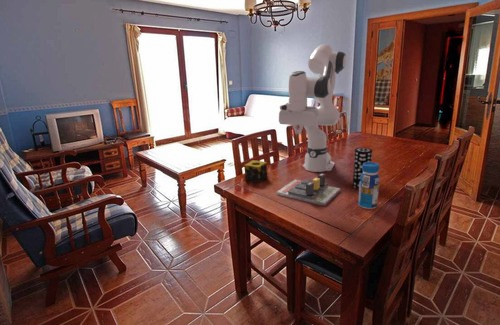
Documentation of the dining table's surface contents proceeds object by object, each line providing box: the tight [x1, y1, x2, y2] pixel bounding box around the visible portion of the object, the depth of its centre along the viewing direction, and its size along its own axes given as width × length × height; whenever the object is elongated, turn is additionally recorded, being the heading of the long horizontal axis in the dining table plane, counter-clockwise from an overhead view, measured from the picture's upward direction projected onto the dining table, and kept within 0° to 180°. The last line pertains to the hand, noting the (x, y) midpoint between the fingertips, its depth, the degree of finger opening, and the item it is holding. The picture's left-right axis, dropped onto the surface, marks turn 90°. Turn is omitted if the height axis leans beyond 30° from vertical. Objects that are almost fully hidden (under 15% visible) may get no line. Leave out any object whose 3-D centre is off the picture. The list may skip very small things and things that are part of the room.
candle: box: [244, 159, 268, 184], centre depth 171 cm, size 10×10×10 cm
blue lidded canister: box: [357, 161, 381, 210], centre depth 130 cm, size 8×8×20 cm
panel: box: [276, 178, 341, 207], centre depth 150 cm, size 20×26×3 cm
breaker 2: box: [311, 177, 320, 190], centre depth 146 cm, size 4×2×5 cm
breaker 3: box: [317, 173, 326, 185], centre depth 151 cm, size 4×2×5 cm
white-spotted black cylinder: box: [352, 147, 373, 190], centre depth 152 cm, size 8×8×20 cm
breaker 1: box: [306, 182, 314, 195], centre depth 141 cm, size 4×2×5 cm
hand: (298, 133), depth 146 cm, fingers closed
